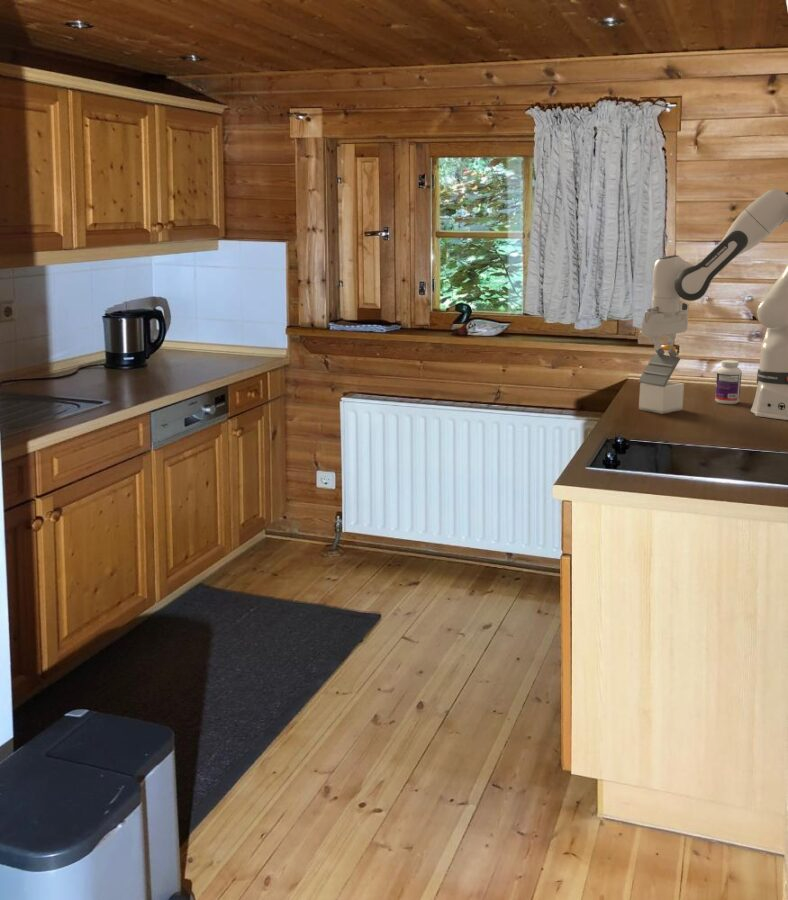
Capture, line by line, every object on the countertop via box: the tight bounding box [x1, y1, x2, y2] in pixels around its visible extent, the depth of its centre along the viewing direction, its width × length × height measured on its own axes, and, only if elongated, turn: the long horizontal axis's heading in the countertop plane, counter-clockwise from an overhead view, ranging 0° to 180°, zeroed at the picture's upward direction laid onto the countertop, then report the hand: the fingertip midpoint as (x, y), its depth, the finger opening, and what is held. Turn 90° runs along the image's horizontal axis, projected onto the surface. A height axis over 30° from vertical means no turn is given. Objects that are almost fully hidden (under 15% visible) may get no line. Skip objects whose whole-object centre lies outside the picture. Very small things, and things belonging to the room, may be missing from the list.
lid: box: [638, 344, 681, 387], centre depth 347 cm, size 14×10×4 cm
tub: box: [638, 380, 685, 415], centre depth 351 cm, size 9×11×9 cm
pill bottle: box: [714, 359, 742, 405], centre depth 362 cm, size 8×8×14 cm
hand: (663, 348), depth 346 cm, fingers open, 5 cm apart
